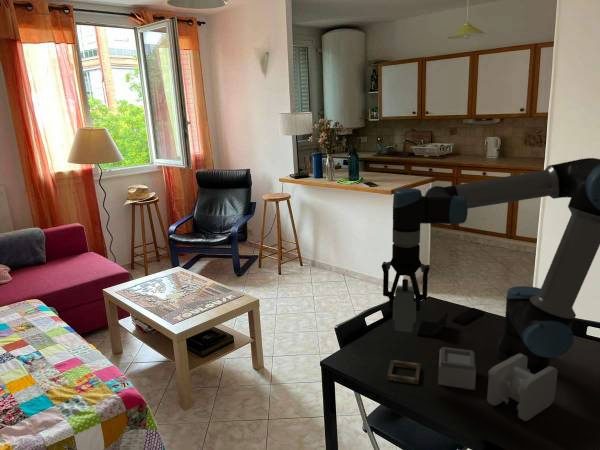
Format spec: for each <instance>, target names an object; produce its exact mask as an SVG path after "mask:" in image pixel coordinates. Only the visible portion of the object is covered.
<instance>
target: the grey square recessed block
mask: <svg viewBox="0 0 600 450" xmlns="http://www.w3.org/2000/svg"><path fill="white" fill-rule="evenodd" d="M475 356H476V355H475V352H474V350H469V349H463V348H462V349H461V348H454V347H446V346H445V347H444V346H441V348H439V356H438V357H439V359H438V373H437V374H438V376H437V377H438V378H437V379H438V380H437V384H438V385H439V386H447V387H451V388H458V389H459V388H461V389H466V390H474V391H476V378H477V377H476V375H477V368H476V357H475Z"/></svg>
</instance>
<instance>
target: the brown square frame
mask: <svg viewBox="0 0 600 450" xmlns="http://www.w3.org/2000/svg"><path fill="white" fill-rule="evenodd" d="M395 367H396V368H397V367H399V368H404V369H405V368H406V369H412V370H415V375H414V376H413V377H412V376H406V375H398V374H393V372H394V368H395ZM420 372H421V363H419V362H411V361H410V362H409V361H403V360H397V359H395V360H394V359H390V362H389V366H388V370H387V375H386V380H387V381H390V380H391V381H392V380H393V381H392V382H397V381H398V383H405V384H411V385H412V384H413V385H417V386H418V385H419V381H420Z"/></svg>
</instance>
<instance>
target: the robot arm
mask: <svg viewBox="0 0 600 450" xmlns="http://www.w3.org/2000/svg"><path fill="white" fill-rule="evenodd" d="M393 192H394V193H393V199H392V201H393V202H392V249H391V250H392V251H391V252H392V253H391V254H392V258H391V260H390V261H387V262H386V261H383V262H382V264H381V268H382V272H383V274H382V277H383V279H382V282H383V283H382V286H383V287H382V296H384V297H387V298H388V301H389V302H388V303H389V304H388V306H389V309H392V320H393V321H395V292H396V288H397V286H398V283H399V280H400V277H401V276H407V277H409V278H410V281H411V287H413V290H414V301H413V322H414V323H416V320H417V312H420V310H421V302H422V301H426V300H427V299H428V284H429V283H428V276H429V273H430V270H431V265H430V264H424V263H422V262H421V260H420V259H421V258H420V254H421V253H420V252H421V251H420V250H421V248H420V247H421V246H420V243H421V224H423V225H424V224H426V225H427V224H435V225H436V224H437V225H442V224H443V225H456V224H458V225H459V224H464V223H466V221H467V219H468V214H469V213H468V212H469V211H468V209H474V208H479V207H480V208H481V207H487V206H493V205H499V204H507V203H511V202H519V201H525V200H530V199H531V200H532V199H538V198H544V197H550V198H552V199H555V200H556V199H562V198H570V200H569V202H568V204H567V208H568V209H569V212H570V213H571V215H570V217H569V220H568V222H567V225H566V227H565V230H564V231H563V235H562V237H561V239H560V242H559V244H558V247H557V249H556V251H555V253H554V256H553V258H552V261H551V264H550V266H549V268H548V270H547V272H546V276H545V277H544V280H543V282H542V285H541V288H540V287H536V286H527V285H524V286H523V285H519V286H513V287H510V288H508V290H507V293H506V297H505V298H506V303H505V316H504V317H505V319H504V329H503V330H504V331H503V333H502V335H501V337H500V339H499V341H498V342H497V345H496V355H497V357H498V358H499V359H500V360H501V361H502V362H503V361H505V360H507V359H509V358H511V357H513V356H515V355H517V354H523V355H525V356H527V358H528V361H527V370H529V371H531V370H543V369H545V368H547V367H549V366H550V361H551V358H556V357H558V356H559V357H560V356H563V355H565V354H566V353H567V352H568V351H570V350H571V348H572V346H573V344H574V332H573V331H572V326H573V324H574V321H575V319H576V316H577V314H576V312H575V310H574V309H573V307H574V305H575V302H576V300H577V298H578V295H579V294H580V291H581V289H582V286H583V284H584V282H585V279H586V277H587V275H588V273H589V272H590V268H591V267H592V265H593V262H594V259H595V257H596V255H597V253H598V250H599V248H600V158H595V157H587V158H579V159H575V160H571V161H565V162H560V163H557V164H550V165H547V166H546V168H545V169H541V170H537V171H530V172H525V173H520V174H513V175H507V176H501V177H496V178H490V179H484V180H478V181H472V182H466V183H465V182H464V183H460V184H456V185H449V186H440V185H434V186H432V187H430V188H428V190H427V191H426V192H425V194H424V195H423V194H422V191H421V190H420V189H418V188H412V187H404V188H398V189H395V191H393ZM391 267H392V268H393V270H394V271H395V272H396V273H395V276H394V280H393V283H392V287H391V290H390V291H389V278H390V277H389V276H390V275H389V274H390V269H391ZM419 269H420V270H421V272H422V293H421V291H420V287H419V284H418V280H417V275H416V273H417V271H418V270H419ZM529 368H530V369H529Z"/></svg>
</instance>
